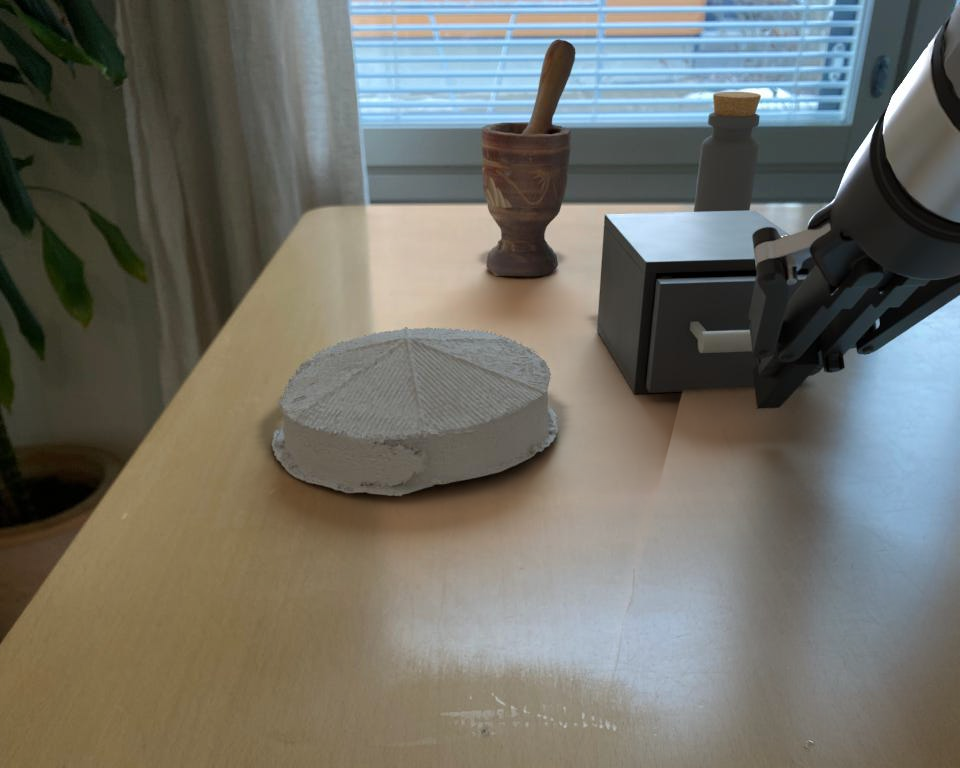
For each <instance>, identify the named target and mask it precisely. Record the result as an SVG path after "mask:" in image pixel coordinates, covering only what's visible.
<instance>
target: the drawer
mask: <svg viewBox="0 0 960 768" xmlns="http://www.w3.org/2000/svg"><path fill="white" fill-rule="evenodd" d="M655 274H656V278H655V288H654V298H653V308H652V318H651V328H650V338H649V348H648V358H647V380H646V388H647V389H648V391H649V393H648V394H658V393H657V392H669V393H682V392H683V391H690V390H712V389H713V390H717V389H738V388H755V386H754V377H753V369H754V367H755V366H756V365H757V364H758V360H757V358H754V357H753V353H752V345H751V336H750V328H749V318H748V315H749V310H750V305H751V300H752V295H753V290H754V285H755V280H756V275H757V273H756V270H751V271H719V272H686V273H655ZM807 276H808V274H805V275H798V272H797V279H798V281H797V282H796V283H795V284H793V285H789V288H790V298H789V300H790V299H791V297H792V296H793V295H794V293H795V292H796V291H797V289H798V288H799V287H800V285H801V284H802V283H803V281H804V280H805V279H806V277H807Z"/></svg>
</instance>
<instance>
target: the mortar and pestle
mask: <svg viewBox="0 0 960 768" xmlns="http://www.w3.org/2000/svg"><path fill="white" fill-rule="evenodd" d="M576 55H577V54H576V48H575V46H574V45H573V44H572V43H570V42H569V41H567V40H565V39H564V40H563V39H560V38H559V39H555V40H553V41H551V43H550V45H549V47H548V48H547V49H546V52H545V54H544V58H543V61H542V62H543V63H542V66H541V71H540V75H539V82H538V88H537V94H536V97H535V102H534V106H533V110H532V113H531V116H530V120H529V122H528V121H520V122H519V121H518V122H516V121H515V122H498V123H497V122H496V123H491V124H486V125H484V126H482V127H481V135H480V137H481V138H480V139H481V157H482V160H481V180H482V189H483V195H484V198H485V201H486V204H487V209H488V213H489V214H490V216H491V217H492V219H493V220H494V222H495V223H496V225H497V226H498V228H499V229H500V232H501V233H500V235H501V237H500V239H499V240H498V241H497V244H496V245H494V246H493V247H492V248H491V249H490V250H489V251H488V253H487V257H486V264H485V265H486V266H485V267H486V268H487V269H488V271H490V272H491V273H492V274H493V276H494V277H541V276H545V275H548V274H551V273H553V272H554V271H556V270H557V268H558V266H559V262H558V256H557V253H555V251H554V249H553V247H551V246H550V245H549V244H548V242H547V241H546V238H545V236H546V235H545V234H546V230H547V227H548V226H549V225H550V223H551V222H553V220H555V218H556V217H557V216H558V215H559V214H560V212H561V208H562V204H563V201H564V198H565V195H566V190H567V186H568V181H569V166H570V156H571V139H572V130H571V129H569V128H567V127H563V126H562V125H556V124H553V118H554V116H555V113H556V110H557V108H558V105H559V102H560V100H561V98H562V96H563V93H564V90H565V88H566V86H567V83H568V82H569V79H570V76H571V73H572V71H573V68H574V67H573V66H574V64H575V61H576Z"/></svg>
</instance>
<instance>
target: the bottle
mask: <svg viewBox="0 0 960 768" xmlns="http://www.w3.org/2000/svg"><path fill="white" fill-rule="evenodd" d="M712 97H713V98H712V99H713V112H711V113H709V115H708V118H707V125H708V126H711V127H712V130H711V131H712V132H711V135H709V136H708V137H707V138H705V139H704V140H703V141H702V143H701V147H700V156H699V162H698V172H697V179H696V187H695V188H696V189H695V196H694V205H693V212H709V211H748V210H751V204H752V197H753V190H754V184H755V177H756V170H757V162H758V157H759V156H758V155H759V148H760V147H759V146H760V144H759V142H758V141H757V140H756V139H755V138H754V137H753V136H752V132H753V128H756V127H758V126H759V125H760V117H761V116H760V114H758V113H757V109H758V107H759V103H760V100H761V98H762V95H761V94H759V93H757V92H756V93H755V92H748V91H718V92H714V93H713V95H712Z"/></svg>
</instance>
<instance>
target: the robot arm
mask: <svg viewBox="0 0 960 768" xmlns="http://www.w3.org/2000/svg"><path fill="white" fill-rule="evenodd" d="M752 239H753V248H754V257H755V266H756V273H757V275H756V280H755V285H754V290H753V295H752V300H751V305H750V310H749V315H748V318H749V328H750V336H751V345H752V353H753V357H754V358H757V360H758V364H757V365H756V366H755V367H754V369H753V377H754V386H755V387H754V391H755V392H754V393H755V402H756V403H755V404H756V409H757V410H760V409H761V410H762V409H780V408H781V407H782V406H783V404H785V402H787V400H788V399H789V398H790V397H791V396H792V395H793V394H794V392H796V390H797V389H798V388H799V387H800V386H801V385H802V384H803V383H804V382H805V381H806V379H807V378H808V377H810V376H812V377H813V376H815V375H817V374H818V373H820V372H821V371H822V370H823V372H825V373H828V374H832V373H838V372H840V371H842V370H844V369H845V368H846V367H845V360H844V355H845V354H846V353H848V351H849V350H851V349H856V354H858V355H865V356H866V355H870V354H873V353H875V352H876V351H878V350H881V348H883V347H885V345H888V344H889V343H890V342H892V341H894V340H895V339H896V338H898V337H899V336H901V335H902V334H904V333H906V332H907V331H908V330H910V329H912V328H913V327H915V326H916V325H918V324H919V323H920V322H922V321H923V320H925V319H926V318H928V317H930V316H931V315H932V314H934V313H935V312H937V311H938V310H940V309H942V308H943V307H944V306H946V305H947V304H949V303H950V302H952V301H954V300H956V298H958V297H960V1H959V2H958V4H957V5H956V6H955V7H954V9H953V10H952V11H951V13H949V16H948V17H947V18H946V20H945V21H944V22H943V23H942V24H941V26H940V27H939V28H938V30H937V32H936V33H935V35H934V36H933V38H932V39H931V41H930V42H929V43H928V45H927V46H926V47H925V49H924V50H923V52H922V53H921V55H920V56H919V58H918V59H917V61H916V62H915V64H914V65H913V66H912V68H911V69H910V70H909V72H908V74H907V75H906V77H905V78H904V79H903V81H902V83H900V85H899V86H898V88H897V89H896V90H895V92H894V93H893V95H892V96H891V99H890V102H889V105H888V106H887V108H885V110H883V112H882V113H881V115H880V117H879V118H878V119H877V121H876V123H875V124H874V125H873V127H872V129H871V130H870V131H869V133H868V134H867V136H866V137H865V139H864V140H863V142H862V143H861V145H860V146H859V148H858V149H857V150H856V152H855V153H854V155H853V157H852V158H851V160H850V162H849V163H848V165H847V167H846V169H845V172H844V173H843V176H842V179H841V182H840V184H839V188H838V190H837V192H836V194H835V198H834V199H833V200H832V201H831V202H830V203H828V204H827V205H826V206H824V207H822V208H820V209H819V210H818V211H817V212H815V213H814V214H813V215H812V217H811V218H810V219H809V221H808V224H807V227H806V229H805V230H801V231H799V232H796V233H792V234H789V235H785V236H783V237H780V235H779V233H778V231H777V229H776V228H773V227H764V228H761V229H759V230H757V231H755V232H754V233H753V235H752ZM810 257H812V258H813V259H814V261H815V263H816V265H815V266H814V268H813V269H812V270H811V272H810V273H809V274H808V276H807V277H806V279H805V280H804V281H803V283H802V284H801V285H800V287H799V288H798V289H797V291H796V292H795V293H794V295H793V296H792V297H791V299H790V300H789V298H790V288H789V285H793V284H795V283H796V282H797V281H798V279H797V272H798V271H799V270H800V269H801V268H802V264H803V262H804V261H805V260H806V259H808V258H810ZM877 321H879V325H878V326H877Z"/></svg>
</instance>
